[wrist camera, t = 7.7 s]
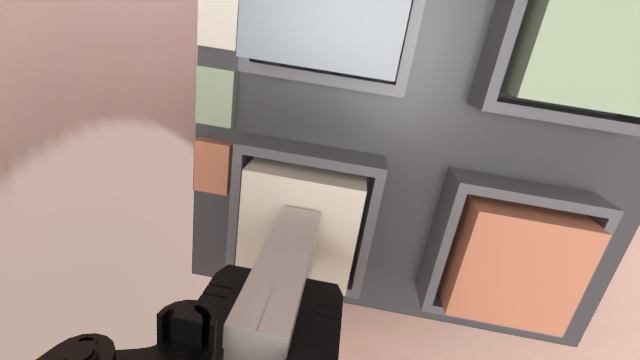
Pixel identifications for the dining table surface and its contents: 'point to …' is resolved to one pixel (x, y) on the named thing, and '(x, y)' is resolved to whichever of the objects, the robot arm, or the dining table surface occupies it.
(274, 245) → the robot arm
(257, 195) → the cream key
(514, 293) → the terracotta key
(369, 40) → the slate key
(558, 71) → the sage key
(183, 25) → the dining table surface
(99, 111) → the dining table surface
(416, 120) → the keypad
